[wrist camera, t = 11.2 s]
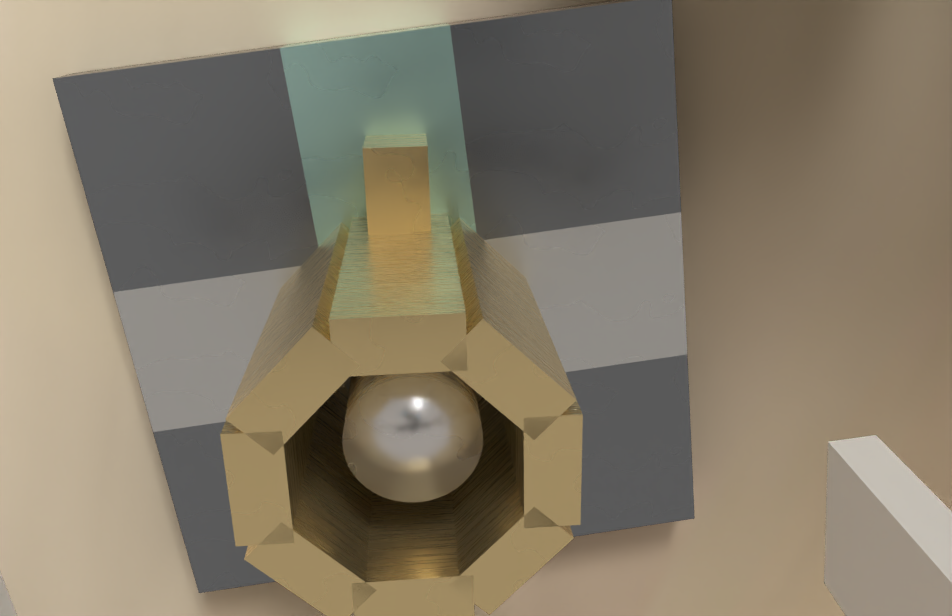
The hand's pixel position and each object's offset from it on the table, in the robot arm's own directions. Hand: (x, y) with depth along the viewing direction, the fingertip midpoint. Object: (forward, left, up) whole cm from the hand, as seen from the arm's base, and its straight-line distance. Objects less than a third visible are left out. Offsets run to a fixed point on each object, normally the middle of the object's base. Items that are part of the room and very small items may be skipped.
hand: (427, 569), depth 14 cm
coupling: (0, +1, -12) cm, 12 cm away
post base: (0, 0, -13) cm, 13 cm away
